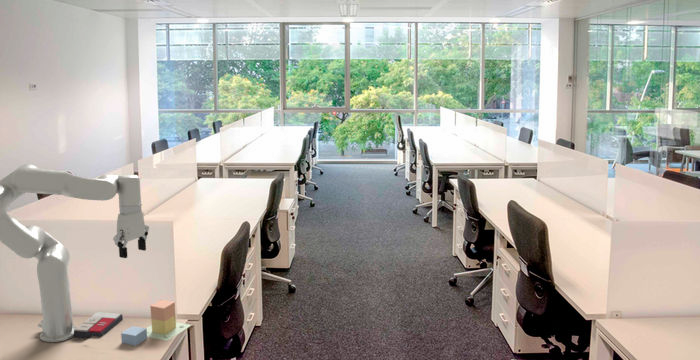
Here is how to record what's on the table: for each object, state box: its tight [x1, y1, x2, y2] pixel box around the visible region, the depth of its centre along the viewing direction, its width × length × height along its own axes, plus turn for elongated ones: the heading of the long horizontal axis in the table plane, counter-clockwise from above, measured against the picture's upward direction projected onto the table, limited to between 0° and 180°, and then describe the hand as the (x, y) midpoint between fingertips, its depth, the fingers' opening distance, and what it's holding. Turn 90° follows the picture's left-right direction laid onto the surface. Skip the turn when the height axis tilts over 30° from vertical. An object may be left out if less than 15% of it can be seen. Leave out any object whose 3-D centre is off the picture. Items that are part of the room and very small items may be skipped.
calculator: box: [74, 311, 124, 340], centre depth 222 cm, size 11×4×15 cm
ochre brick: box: [150, 315, 177, 334], centre depth 220 cm, size 6×6×5 cm
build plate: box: [146, 321, 192, 342], centre depth 220 cm, size 14×14×1 cm
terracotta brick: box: [150, 299, 176, 321], centre depth 219 cm, size 6×6×5 cm
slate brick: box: [120, 325, 148, 347], centre depth 212 cm, size 6×6×5 cm
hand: (133, 253), depth 222 cm, fingers open, 9 cm apart
